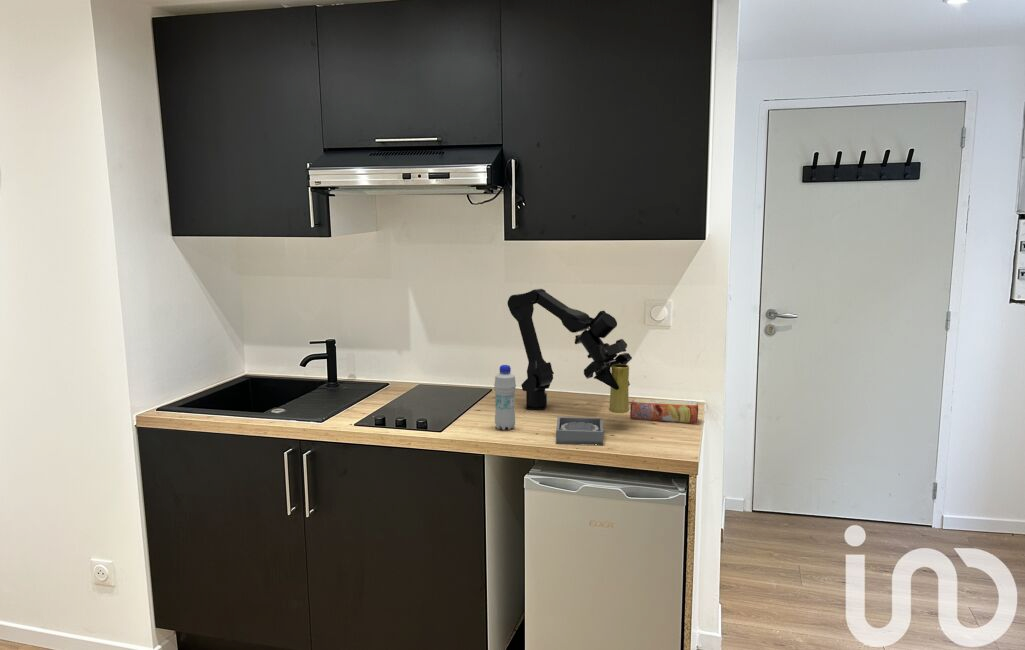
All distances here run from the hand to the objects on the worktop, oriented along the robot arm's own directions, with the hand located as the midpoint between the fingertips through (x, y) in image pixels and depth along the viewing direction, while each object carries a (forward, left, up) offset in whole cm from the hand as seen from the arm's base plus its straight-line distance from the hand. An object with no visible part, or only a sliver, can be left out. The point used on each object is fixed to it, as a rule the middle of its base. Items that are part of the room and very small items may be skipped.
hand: (623, 387), depth 230 cm
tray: (-13, -9, -13) cm, 21 cm away
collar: (-13, -9, -13) cm, 21 cm away
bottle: (-36, -3, -13) cm, 39 cm away
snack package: (+14, +11, -14) cm, 22 cm away
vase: (-1, +1, -8) cm, 8 cm away
